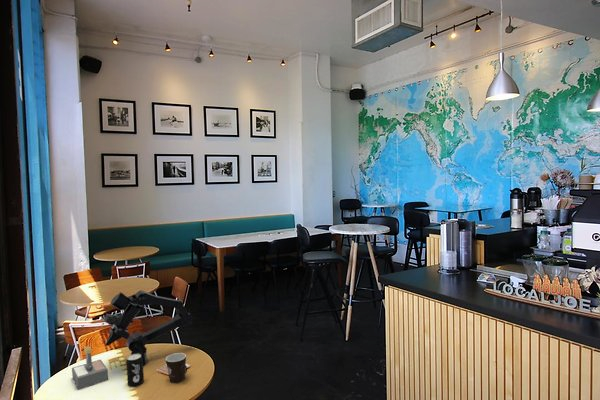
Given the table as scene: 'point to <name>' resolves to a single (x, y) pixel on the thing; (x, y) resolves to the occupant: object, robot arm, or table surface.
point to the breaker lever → (88, 357)
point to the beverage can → (135, 370)
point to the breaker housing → (89, 374)
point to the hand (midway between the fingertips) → (106, 345)
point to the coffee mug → (176, 367)
